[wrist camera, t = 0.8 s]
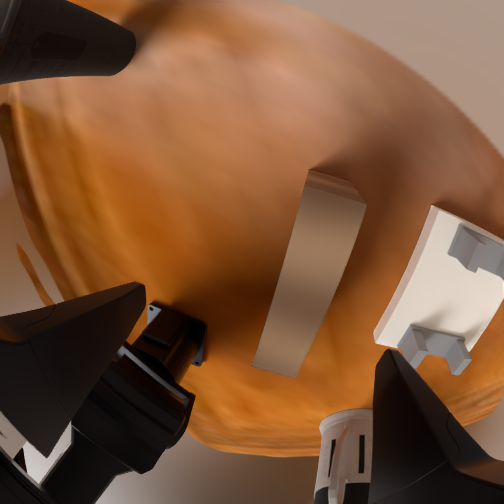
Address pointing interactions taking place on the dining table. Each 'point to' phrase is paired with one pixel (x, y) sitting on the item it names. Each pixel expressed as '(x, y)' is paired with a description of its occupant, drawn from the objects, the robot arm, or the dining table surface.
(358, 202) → the door
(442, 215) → the side panel
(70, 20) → the drinking cup
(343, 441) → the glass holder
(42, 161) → the dining table surface
